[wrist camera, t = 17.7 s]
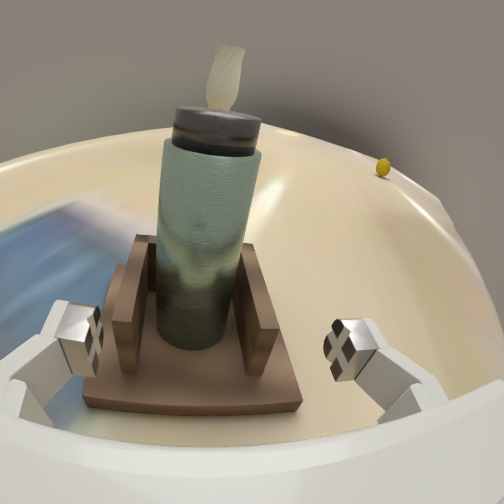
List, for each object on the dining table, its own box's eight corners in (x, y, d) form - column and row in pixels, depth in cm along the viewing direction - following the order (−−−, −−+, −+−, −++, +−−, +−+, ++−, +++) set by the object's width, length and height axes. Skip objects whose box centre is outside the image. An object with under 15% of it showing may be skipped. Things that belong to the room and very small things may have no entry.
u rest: (296, 410, 19) (329, 357, 16) (87, 405, 16) (61, 347, 13) (259, 285, 32) (273, 232, 29) (117, 276, 28) (114, 219, 25)
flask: (205, 362, 20) (245, 123, 12) (142, 329, 21) (147, 107, 13) (236, 317, 25) (280, 121, 17) (180, 292, 26) (201, 105, 18)
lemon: (370, 173, 106) (376, 154, 102) (380, 175, 108) (386, 157, 104) (379, 178, 102) (385, 159, 98) (389, 180, 104) (395, 161, 99)
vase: (187, 154, 73) (206, 44, 58) (208, 151, 80) (227, 49, 65) (212, 163, 70) (235, 44, 55) (232, 159, 76) (254, 51, 61)
